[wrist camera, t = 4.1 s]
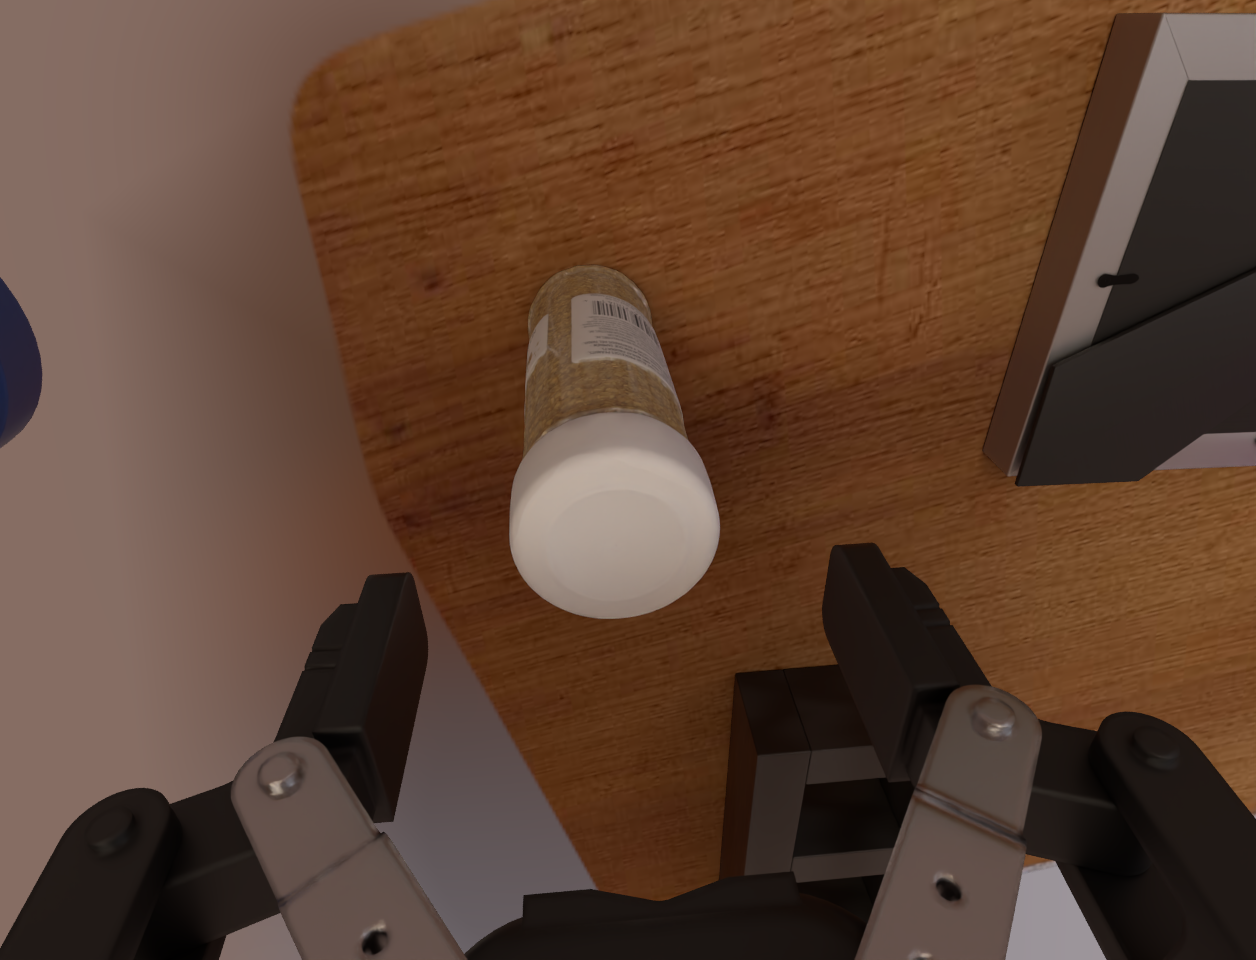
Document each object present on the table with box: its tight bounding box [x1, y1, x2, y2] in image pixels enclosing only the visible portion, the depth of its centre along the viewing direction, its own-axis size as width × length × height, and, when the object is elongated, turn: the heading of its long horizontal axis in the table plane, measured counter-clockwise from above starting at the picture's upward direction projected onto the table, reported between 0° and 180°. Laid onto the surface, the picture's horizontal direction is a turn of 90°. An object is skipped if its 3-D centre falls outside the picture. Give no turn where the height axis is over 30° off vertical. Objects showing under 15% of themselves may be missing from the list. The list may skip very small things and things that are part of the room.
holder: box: [719, 665, 914, 923], centre depth 41 cm, size 11×20×5 cm, turn 1°
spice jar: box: [509, 265, 720, 619], centre depth 21 cm, size 5×5×13 cm
